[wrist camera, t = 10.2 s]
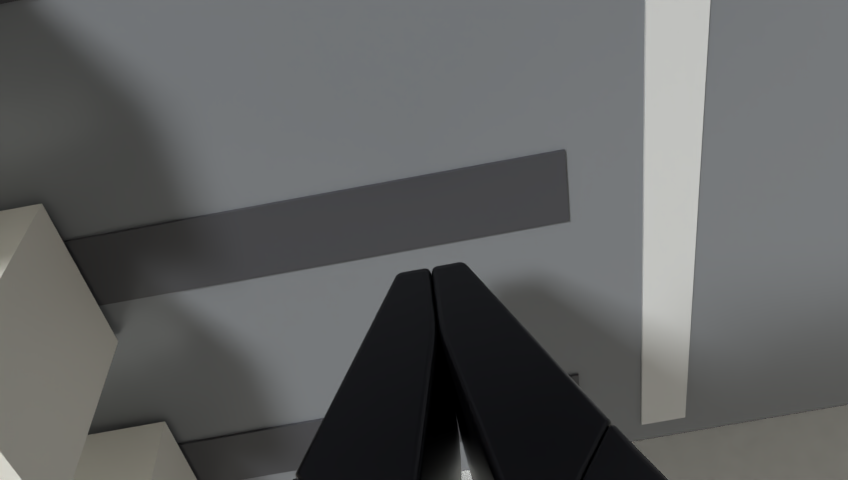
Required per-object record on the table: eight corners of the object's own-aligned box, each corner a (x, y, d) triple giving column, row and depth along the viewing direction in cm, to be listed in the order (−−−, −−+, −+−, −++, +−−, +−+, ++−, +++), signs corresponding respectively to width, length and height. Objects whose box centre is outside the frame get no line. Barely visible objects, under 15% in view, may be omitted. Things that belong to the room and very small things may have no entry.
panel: (1069, -443, 8) (1168, -458, 7) (867, 349, 16) (904, 397, 14) (-869, -55, 9) (-1022, -19, 8) (-201, 535, 16) (-238, 593, 15)
